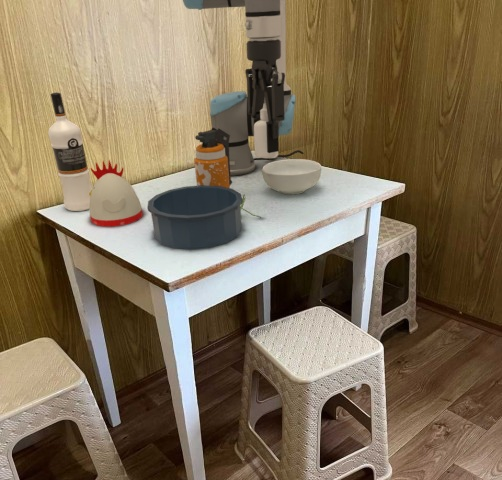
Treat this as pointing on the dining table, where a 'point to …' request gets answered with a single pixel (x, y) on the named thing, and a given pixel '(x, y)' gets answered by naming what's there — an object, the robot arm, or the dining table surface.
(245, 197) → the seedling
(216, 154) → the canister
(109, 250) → the dining table surface
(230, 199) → the basin
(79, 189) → the vodka
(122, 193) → the kitchen timer
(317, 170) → the cereal bowl
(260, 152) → the eye dropper bottle
